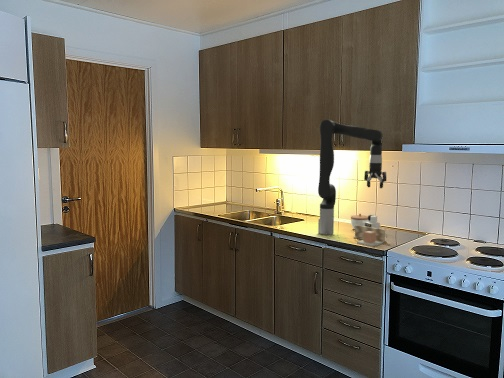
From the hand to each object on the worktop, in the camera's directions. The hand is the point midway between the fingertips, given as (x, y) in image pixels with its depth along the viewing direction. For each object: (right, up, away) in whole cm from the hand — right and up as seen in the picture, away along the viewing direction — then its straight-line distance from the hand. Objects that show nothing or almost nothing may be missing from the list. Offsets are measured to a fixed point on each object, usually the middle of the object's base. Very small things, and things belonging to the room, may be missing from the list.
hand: (374, 187), depth 271 cm
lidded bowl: (-2, -29, +29) cm, 41 cm away
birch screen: (-4, -33, -4) cm, 33 cm away
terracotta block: (-7, -33, -13) cm, 36 cm away
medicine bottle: (+3, -31, +17) cm, 35 cm away
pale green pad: (-7, -34, -13) cm, 37 cm away
